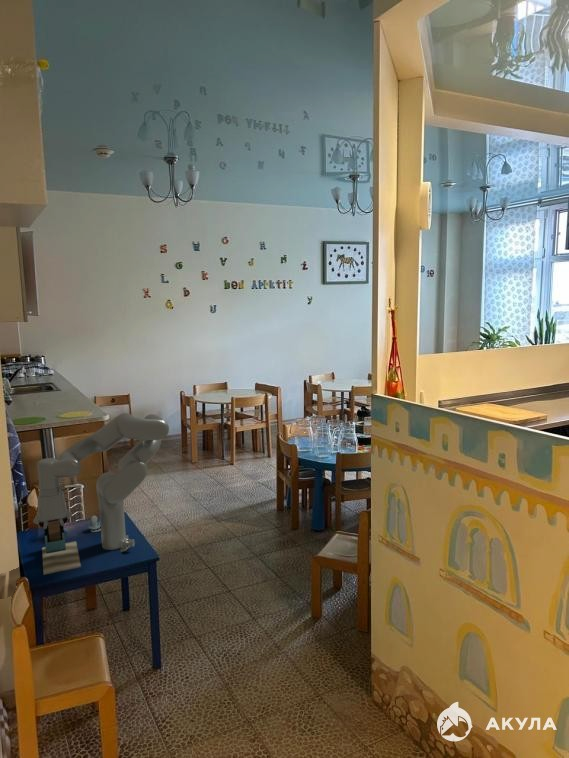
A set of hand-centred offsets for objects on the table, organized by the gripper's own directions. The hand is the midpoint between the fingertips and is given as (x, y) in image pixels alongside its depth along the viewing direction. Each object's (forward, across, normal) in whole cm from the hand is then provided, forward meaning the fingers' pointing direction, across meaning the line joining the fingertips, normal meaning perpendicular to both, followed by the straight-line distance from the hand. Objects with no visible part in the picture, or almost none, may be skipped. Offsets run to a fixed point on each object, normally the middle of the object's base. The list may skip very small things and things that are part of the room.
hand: (54, 535), depth 219 cm
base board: (+11, -1, 0) cm, 11 cm away
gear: (+11, -1, -25) cm, 28 cm away
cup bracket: (+9, 0, -4) cm, 10 cm away
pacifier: (+11, -17, -24) cm, 31 cm away
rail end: (+3, 0, 0) cm, 3 cm away
